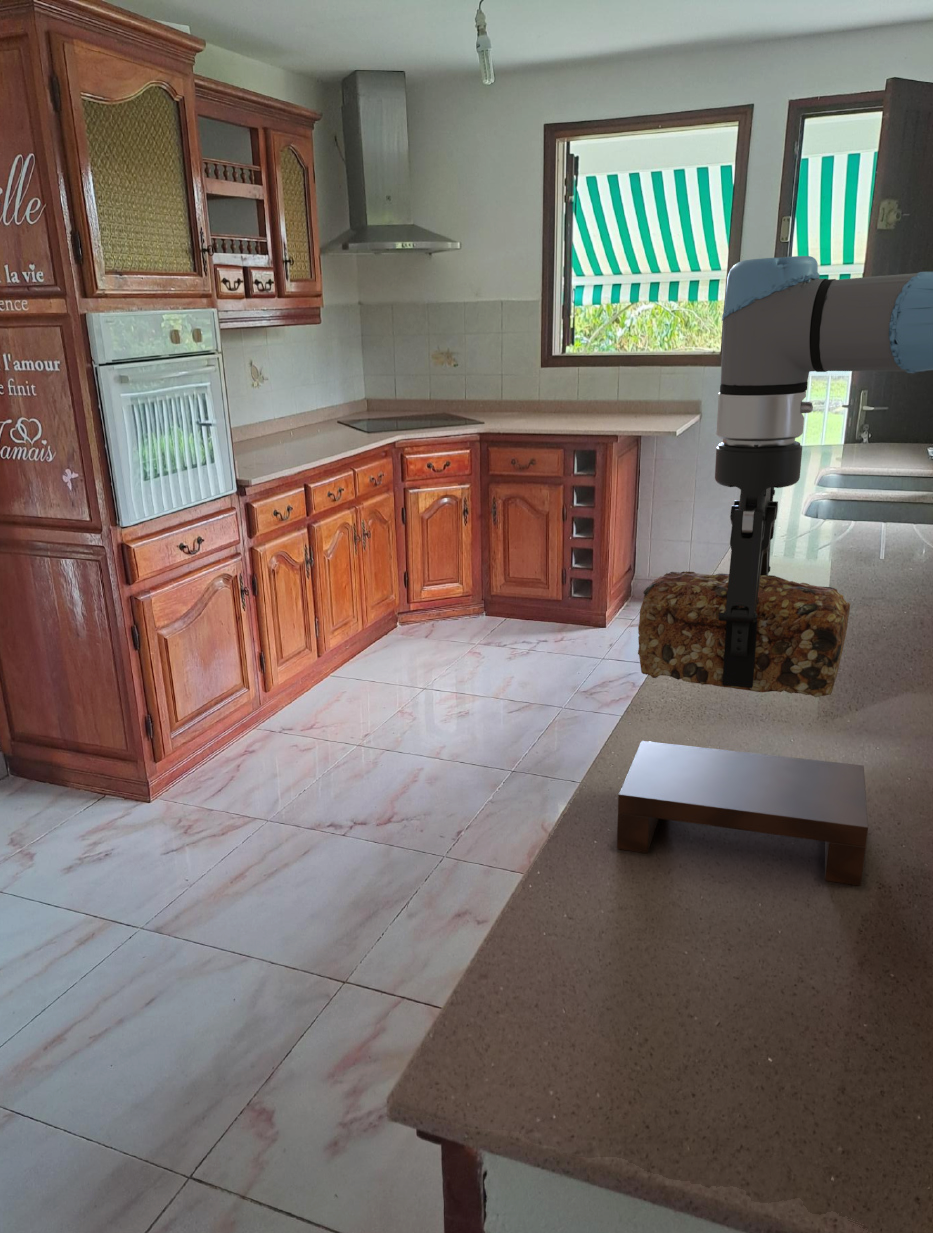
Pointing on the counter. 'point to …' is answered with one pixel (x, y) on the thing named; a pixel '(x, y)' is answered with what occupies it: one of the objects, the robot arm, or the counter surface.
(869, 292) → the robot arm
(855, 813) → the shelf
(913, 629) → the counter surface
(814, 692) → the bread
